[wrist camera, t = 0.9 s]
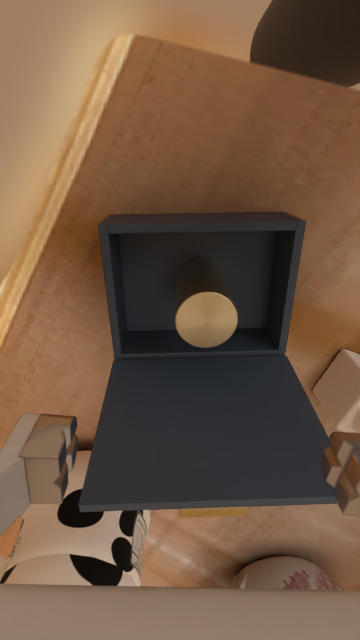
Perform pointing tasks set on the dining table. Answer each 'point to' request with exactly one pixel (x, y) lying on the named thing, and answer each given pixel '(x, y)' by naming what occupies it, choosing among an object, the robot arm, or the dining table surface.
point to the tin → (203, 304)
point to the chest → (232, 262)
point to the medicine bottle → (341, 391)
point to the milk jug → (284, 575)
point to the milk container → (77, 541)
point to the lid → (205, 438)
